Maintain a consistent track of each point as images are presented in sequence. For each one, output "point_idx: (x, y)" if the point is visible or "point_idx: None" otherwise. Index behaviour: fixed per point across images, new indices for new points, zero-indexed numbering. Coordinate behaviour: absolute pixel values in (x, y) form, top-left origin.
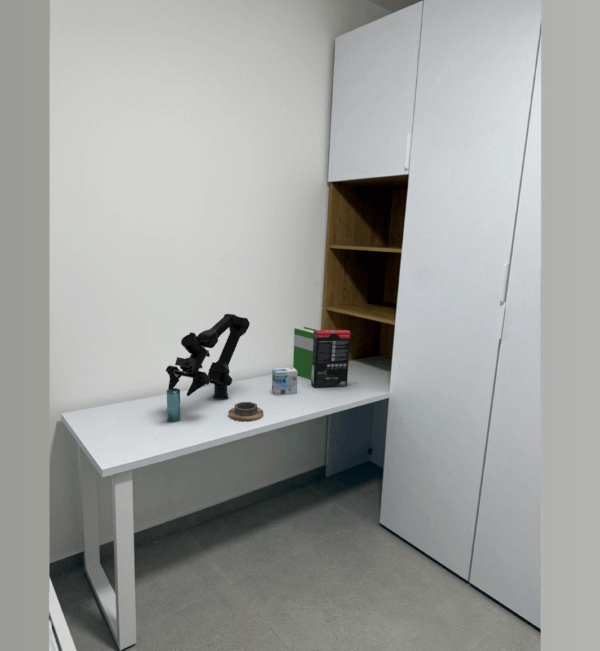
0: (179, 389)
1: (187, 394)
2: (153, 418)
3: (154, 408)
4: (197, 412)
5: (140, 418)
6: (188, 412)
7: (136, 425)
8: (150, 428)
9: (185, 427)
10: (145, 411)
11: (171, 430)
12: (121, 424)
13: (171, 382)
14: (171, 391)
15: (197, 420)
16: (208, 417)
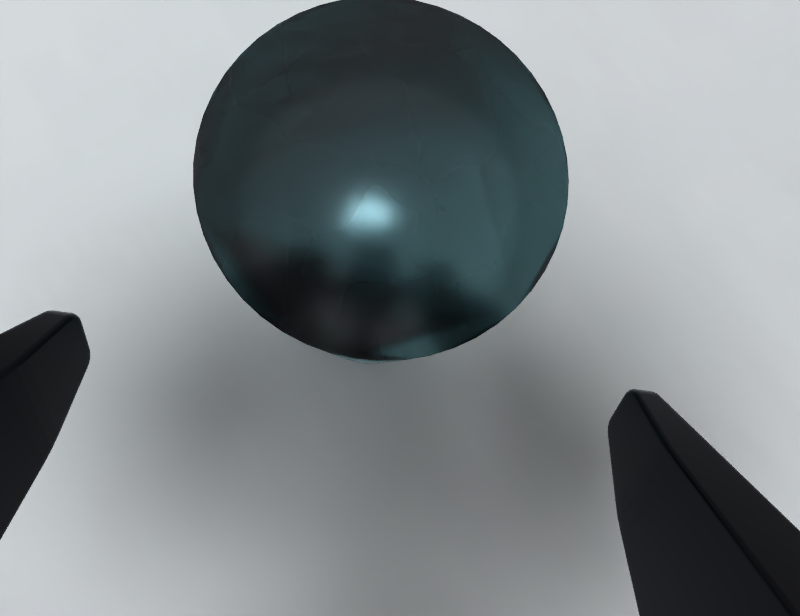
0: (266, 310)
1: (43, 315)
2: (588, 241)
3: (762, 494)
4: (241, 605)
5: (703, 191)
6: (342, 556)
7: (621, 31)
8: None
9: (143, 161)
10: (786, 374)
11: (238, 46)
12: (757, 3)
13: (770, 585)
14: (381, 75)
15: (116, 381)
16: (34, 518)
